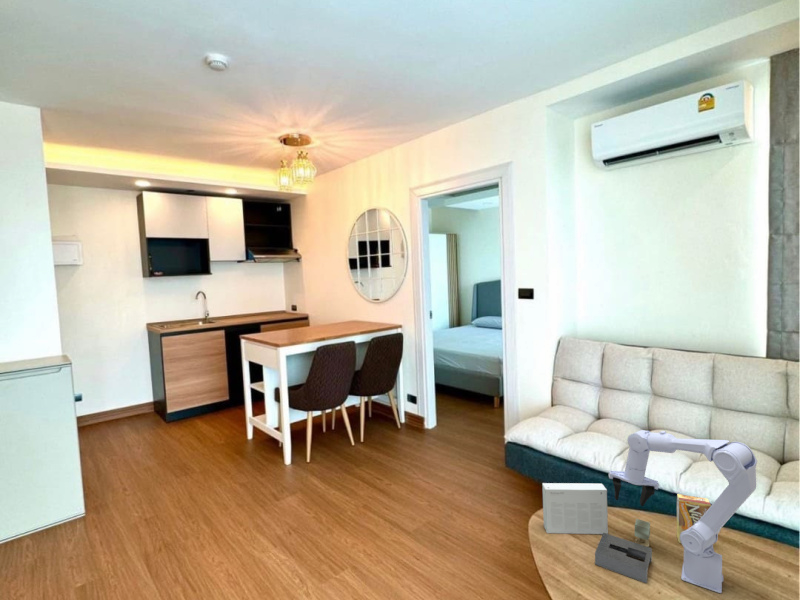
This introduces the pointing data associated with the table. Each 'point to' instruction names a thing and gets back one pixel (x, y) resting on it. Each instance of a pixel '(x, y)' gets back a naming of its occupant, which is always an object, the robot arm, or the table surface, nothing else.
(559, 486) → the skincare box
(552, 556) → the table surface
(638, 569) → the keyhole bracket
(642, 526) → the peg
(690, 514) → the candy box
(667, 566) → the table surface
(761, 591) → the table surface
